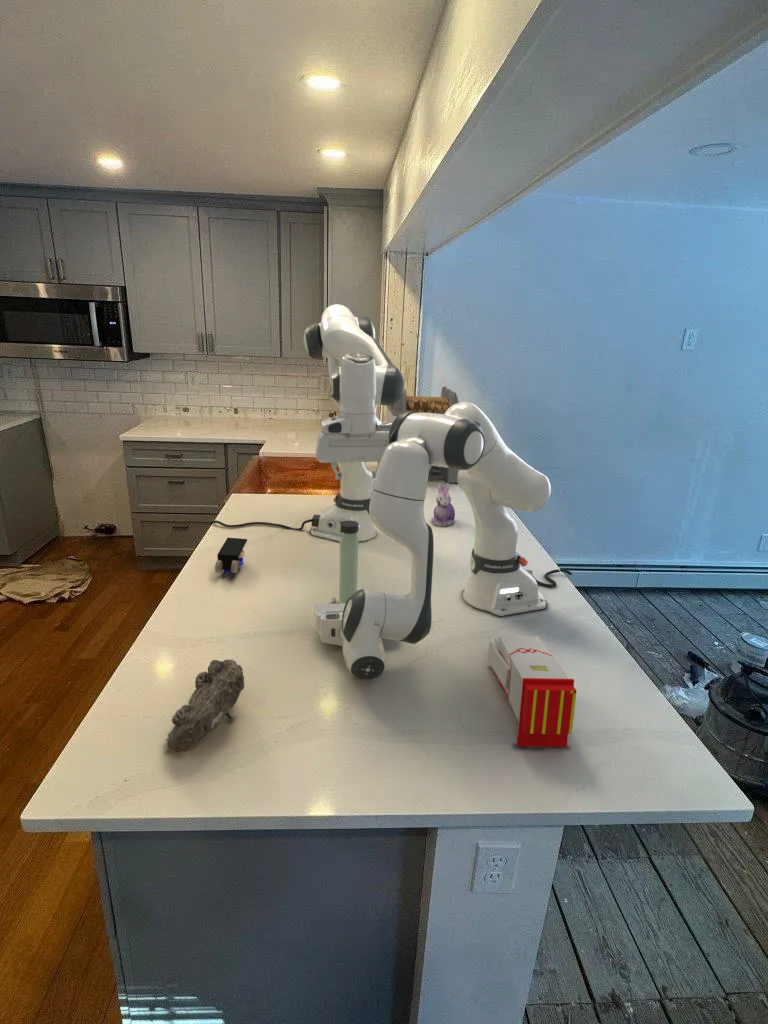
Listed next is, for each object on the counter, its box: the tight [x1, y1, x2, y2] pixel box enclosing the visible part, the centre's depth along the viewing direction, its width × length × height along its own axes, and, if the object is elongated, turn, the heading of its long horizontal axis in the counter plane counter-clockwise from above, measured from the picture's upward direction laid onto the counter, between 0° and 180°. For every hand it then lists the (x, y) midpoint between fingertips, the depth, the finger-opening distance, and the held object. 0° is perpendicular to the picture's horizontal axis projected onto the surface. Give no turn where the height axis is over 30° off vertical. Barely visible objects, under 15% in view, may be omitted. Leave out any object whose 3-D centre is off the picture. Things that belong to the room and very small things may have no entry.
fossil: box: [166, 658, 245, 754], centre depth 106 cm, size 22×10×15 cm
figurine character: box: [214, 537, 248, 578], centre depth 166 cm, size 7×8×15 cm
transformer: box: [385, 386, 460, 484], centre depth 268 cm, size 34×33×41 cm
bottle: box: [338, 533, 359, 604], centre depth 147 cm, size 5×5×23 cm
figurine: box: [432, 482, 456, 527], centre depth 210 cm, size 9×10×15 cm
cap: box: [341, 520, 359, 534], centre depth 143 cm, size 4×5×2 cm
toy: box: [486, 635, 577, 748], centre depth 115 cm, size 12×13×30 cm
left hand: (357, 478), depth 141 cm, fingers open, 8 cm apart
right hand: (351, 599), depth 143 cm, fingers open, 8 cm apart
